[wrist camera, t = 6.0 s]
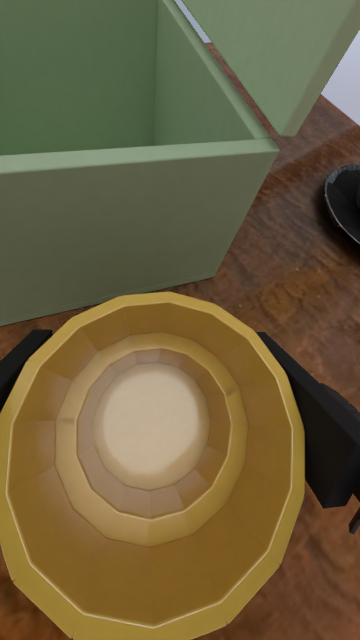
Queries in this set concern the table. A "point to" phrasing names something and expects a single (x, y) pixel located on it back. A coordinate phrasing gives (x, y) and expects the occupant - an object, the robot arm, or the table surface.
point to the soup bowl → (344, 199)
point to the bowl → (149, 470)
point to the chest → (116, 154)
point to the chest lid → (280, 49)
